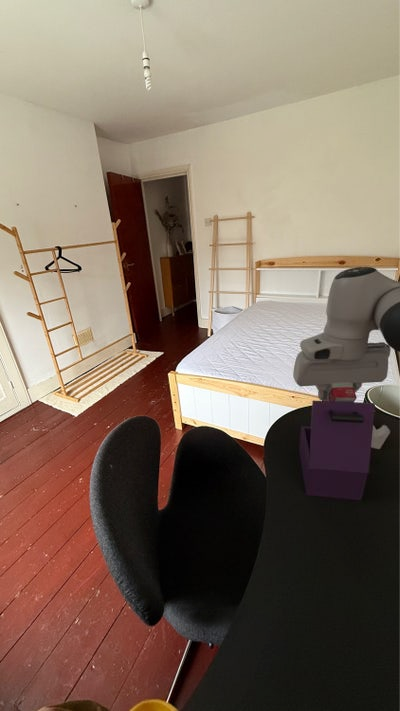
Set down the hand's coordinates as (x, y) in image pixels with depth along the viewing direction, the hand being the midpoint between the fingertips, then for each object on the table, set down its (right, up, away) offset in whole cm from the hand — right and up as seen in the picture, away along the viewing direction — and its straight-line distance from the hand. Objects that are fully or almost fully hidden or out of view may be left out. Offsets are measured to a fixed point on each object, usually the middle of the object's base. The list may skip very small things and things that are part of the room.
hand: (335, 397), depth 71 cm
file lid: (-1, -8, -4) cm, 9 cm away
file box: (+2, -21, +8) cm, 23 cm away
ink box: (0, -2, -3) cm, 4 cm away
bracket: (+18, -14, +21) cm, 31 cm away
